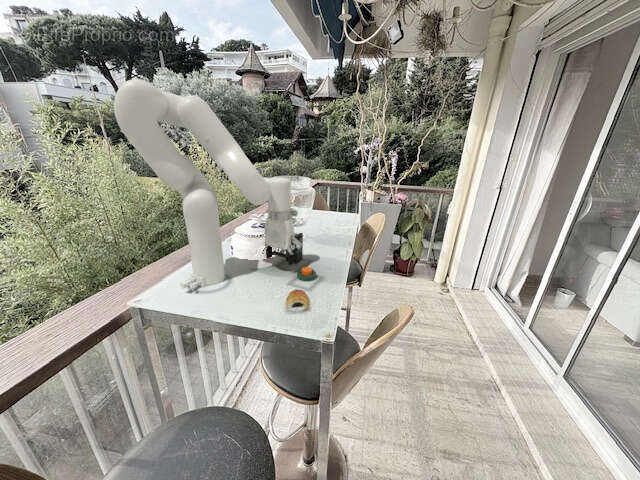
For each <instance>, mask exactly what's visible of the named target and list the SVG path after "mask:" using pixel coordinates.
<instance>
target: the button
mask: <svg viewBox="0 0 640 480" xmlns="http://www.w3.org/2000/svg"><path fill="white" fill-rule="evenodd" d="M301 269H302V275H304V276H309V275H312V270H313V268H312V267H309V266H304V267H302V268H301Z"/></svg>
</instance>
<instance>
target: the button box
mask: <svg viewBox="0 0 640 480" xmlns="http://www.w3.org/2000/svg"><path fill="white" fill-rule="evenodd" d="M296 277H297V279H298V280H299V281H301V282H305V283H307V282H313V281H314V280H316V279H317V271H316V270H314V269H312V275H309V276H304V275H302V268H301V269H299V270H297V272H296Z"/></svg>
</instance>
